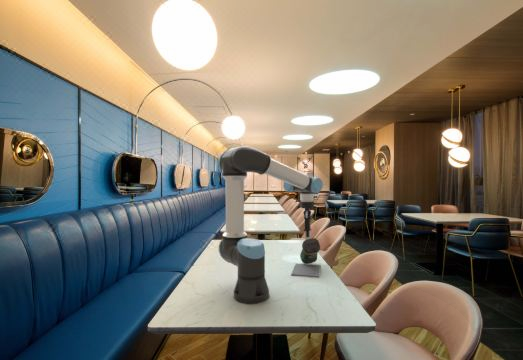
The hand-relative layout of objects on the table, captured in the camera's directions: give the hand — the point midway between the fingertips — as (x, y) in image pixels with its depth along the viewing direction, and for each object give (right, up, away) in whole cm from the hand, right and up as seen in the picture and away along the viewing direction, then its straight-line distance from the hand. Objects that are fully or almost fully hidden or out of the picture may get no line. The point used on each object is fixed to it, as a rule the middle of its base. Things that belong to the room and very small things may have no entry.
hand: (307, 242), depth 153 cm
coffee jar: (+1, -11, +5) cm, 12 cm away
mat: (-2, -14, -8) cm, 16 cm away
